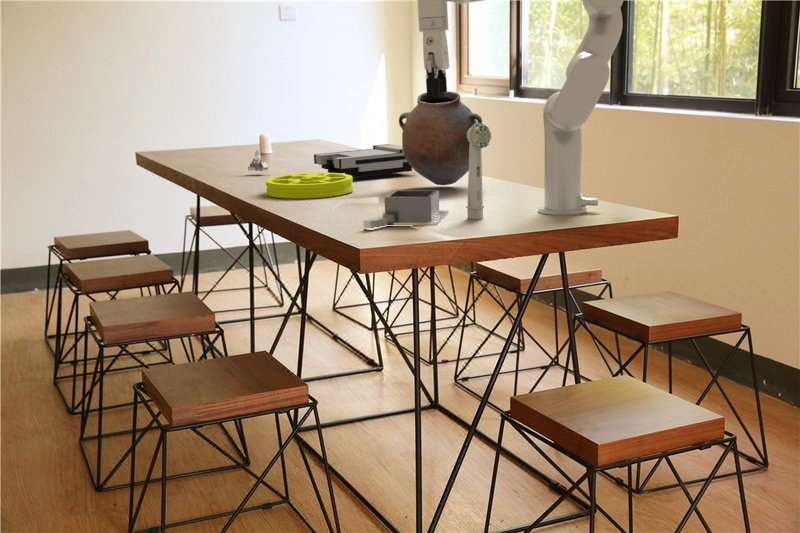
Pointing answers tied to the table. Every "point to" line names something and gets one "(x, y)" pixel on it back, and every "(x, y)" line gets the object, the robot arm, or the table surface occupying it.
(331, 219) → the table surface
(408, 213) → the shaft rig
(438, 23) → the robot arm
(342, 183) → the pulley
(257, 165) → the house of cards
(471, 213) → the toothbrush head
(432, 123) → the clay pot
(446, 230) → the table surface
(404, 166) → the game console
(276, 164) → the table surface
